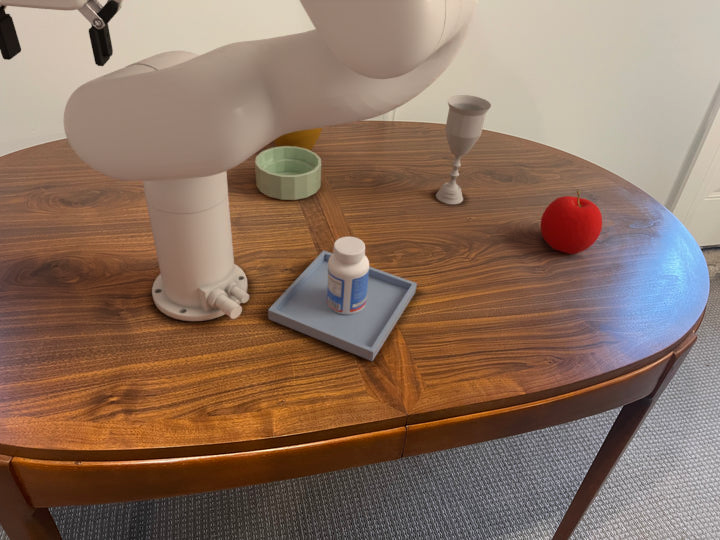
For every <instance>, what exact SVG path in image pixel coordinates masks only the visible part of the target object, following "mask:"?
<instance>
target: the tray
mask: <svg viewBox="0 0 720 540" xmlns="http://www.w3.org/2000/svg"><path fill="white" fill-rule="evenodd" d="M332 254H333V252H329V251H327V250H322V251H321V252H320V254H319V255H317V257H316V258H315V259H314V260H313V261H312V262H311V263H310V264H309V265H308V266H307V267H306V268H305V270H304V271H302V273H301V274H299V276H298V277H297V278H296V279H295V280H294V281H293V283H291V284H290V286H289V287H287V289H286V290H284V292H283V293H282V294H281V295H280V296H279V297H278V298H277V300H276V301H274V302H273V304H272V305H271V306H270V307H269V308H268V309H267V319H268V320H270V321H272V322H275V323H277V324H279V325H281V326H284V327H286V328H290V329H292V330H294V331H296V332H299V333H300V334H301V333H302V334H304V335H307V336H309V337H311V338H314V339H316V340H319V341H321V342H323V343H326V344H328V345H331V346H333V347H336V348H338V349H340V350H342V351H345V352H348V353H351V354H353V355H356V356H358V357H360V358H362V359H364V360H365V359H366V360H367V361H369V362H373V361H374V360H375V358H376V357H377V355H378V353H379V352H380V350H381V348H382V347H383V345H384V343H385V342H386V340H387V339H388V337H389V335H390V334H391V332H392V331H393V329H394V327H395V326H396V324H397V323H398V322H399V319H400V318H401V316H402V314H403V313H404V311H405V310H406V308H407V306H408V305H409V303H410V302H411V300H412V298H413V297H414V295H415V294H416V292H417V291H416V290H417V285H418V283H417V282H414V281H412V280H409V279H407V278H403V277H401V276H397V275H395V274H392V273H390V272H386V271H384V270H381V269H379V268H375V267H372V266H369V276H368V287H367V298H366V304H365V306H364V308H363V309H362V310H361V311H359V312H357V313H355V314H349V315H347V314H340V313H337V312H335V311H334V310H332V309H331V308H330V307H329V305H328V302H327V285H328V261H329V258H330V256H331V255H332Z"/></svg>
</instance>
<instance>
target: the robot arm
mask: <svg viewBox="0 0 720 540" xmlns="http://www.w3.org/2000/svg"><path fill="white" fill-rule="evenodd" d="M123 2H124V0H107V1H106V3H105V4H104V5H102V4H101V3H100V2H99V0H0V54H1V56H2V59H3V60H5V61H6V60H7V61H9V60H11V59H13V58H14V57H16V56H17V55H18V54H20V53H21V52H22V46H21V43H20V41H19V36H18V33H17V30H16V26H15V23H14V20H13V17H12V15H11V14H10V13H6V9H7V7H16V8H17V7H18V8H29V9H39V10H40V9H41V10H53V11H54V10H55V11H76V10H78V12H79V13H80V14H81V15H82V16H83V17H84V18H85V19H86V20H87V21H88V22H89V23H90V25H91V27H90V28H89V29H88V35H89V40H90V45H91V50H92V55H93V59H94V63H95V65H96V66H97V67H104V66H105V65H106V64H107V62H108V61H109V60H110V59H111V57H112V56H113V53H114V50H113V43H112V38H111V32H110V28H109V23H110V21H111V20H112V19H113V18H114V17H115V16H116V14H117V13H118V12H119V11H120V10H121V9H122V4H123ZM299 2H300V4H301V6H302V8H303V9H304V11H305V13H306V15H307V16H308V18H309V20H310V22H311V23H312V25H313V27H314V28H313V29H311V30H307V31H303V32H299V33H294V34H293V33H292V34H287V35H280V36H275V37H270V38H262V39H255V40H246V41H245V40H244V41H237V42H232V43H228V44H225V45H222V46H220V47H217V48H214V49H212V50H210V51H207V52H205V53H203V54H200V55H199V54H197V53H194V52H191V51H185V50H169V51H165V52H160V53H157V54H154V55H152V56H149V57H146V58H144V59H141V60H139V61H136V62H134V63H133V62H132V63H131V64H128V65H125V66H124V67H121V68H119V69H116V70H114V71H111V72H109V73H107V74H104V75H101V76H99V77H96V78H93V79H91V80H89V81H87V82H85V83H83V84H81V85H79V86H78V87H77V88H76V89H75V90H74V91H73V92H71V93H72V94H71V95H70V96H69V98H68V99H67V101H66V104H65V107H64V111H63V130H64V133H65V137H66V140H67V142H68V144H69V146H70V147H71V149H72V151H73V152H74V153H75V154H76V156H77V157H78V158H79V159H80V160H81V161H82V162H83V163H84V164H85V165H87V166H88V167H89V168H91V169H92V170H94V171H96V172H97V173H99V174H101V175H104V176H105V177H108V178H111V179H115V180H120V181H127V182H142V184H143V186H142V187H143V193H144V196H145V197H144V198H145V202H146V207H147V213H148V218H149V222H150V223H149V224H150V228H151V232H152V238H153V243H154V247H155V252H156V257H157V262H158V268H159V274H158V275H157V277H156V278H155V279H154V282H153V284H152V286H151V296H152V300H153V303H154V304H155V306H156V308H157V309H158V310H159V311H160V312H161V313H163V314H164V315H166V316H167V317H170V318H172V319H175V320H180V321H182V322H183V321H185V322H202V321H210V320H215V319H216V318H220V317H222V316H225V315H226V316H228V317H229V318H230V319H231V320H235V319H237V318H239V317H240V315H241V314H242V312H243V307H242V305H241V304H246V303H248V301H249V300H250V294H249V293H248V286H249V285H248V278H247V276H246V273H245V272H244V270H243V269H242V268H241V267H240V266H239V265H237V264H235V256H234V246H233V245H234V244H233V234H232V233H233V232H232V224H231V223H232V222H231V221H232V220H231V214H230V212H231V211H230V202H229V201H230V200H229V186H228V173H227V172H228V171H229V170H232V169H234V168H236V167H237V166H239V165H241V164H242V163H244V162H245V161H247V160H248V159H250V158H251V157H253V156H254V155H255V154H256V153H258V152H259V151H261V150H262V149H263V148H265V147H266V146H268V145H269V144H270V143H272V142H274V140H275V139H277V138H278V137H280V136H282V135H284V134H287V133H291V132H296V131H301V130H309V129H316V128H322V129H324V128H329V127H335V126H340V125H347V124H353V123H358V122H362V121H366V120H370V119H373V118H377V117H380V116H382V115H384V114H387V113H389V112H391V111H394V110H396V109H398V108H400V107H402V106H403V105H405V104H406V103H409V102H410V101H412V100H413V99H415V98H416V97H417V96H419V95H420V94H421V93H422V92H424V91H425V90H426V89H428V88H429V87H430V86H431V85H432V84H433V83H434V82H435V81H437V80H438V79H439V77H441V76H442V75H443V73H444V72H445V71H446V70H447V69H448V68H449V66H450V65H451V64H452V62H453V61H454V60H455V58H456V56H457V55H458V54H459V52H460V50H461V49H462V47H463V45H464V43H465V41H466V39H467V36H468V35H469V33H470V30H471V28H472V25H473V23H474V19H475V16H476V12H477V9H478V4H479V0H299Z"/></svg>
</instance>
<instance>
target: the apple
mask: <svg viewBox="0 0 720 540" xmlns="http://www.w3.org/2000/svg"><path fill="white" fill-rule="evenodd" d="M322 130H323V128H316V129H309V130H301V131H296V132H291V133H287V134H284V135H282V136H280V137H278V138H277V139H275V140H273V142H274V145H275V147H280V146H295V147H300V148H305V149H308V150H310V151H312V150H313V149H314V146H315V145H316V144H317V142H318V139H319V138H320V136H321V133H322Z"/></svg>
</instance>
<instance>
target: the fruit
mask: <svg viewBox="0 0 720 540" xmlns="http://www.w3.org/2000/svg"><path fill="white" fill-rule="evenodd" d="M580 194H581V190H577V191H576V196H571V195H565V196H560V197H557V198H555V199H553V201H551V202H550V203H549V205H548V206H547V207H546V208H545V209H544V211H543V213H542V215H541V218H540V232H541V236H542V238H543V240H544V241H545V243H546V244H548V245H549V246H550V247H551V248H552V249H553V250H555V251H557V252H561V253H564V254H565V253H566V254H569V255H576V254H579V253H582V252H584V251H586V250H588V249H589V248H590V247H591V246H593V245H594V244H595V243H596V241H597V240H598V239H599V237H600V235H601V232H602V228H603V216H602V212H601V210H600V208H599V207H598V206H597V204H595V203H594V202H592V200H589V199H586V198H584V197H583V198H582V197H580Z"/></svg>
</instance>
